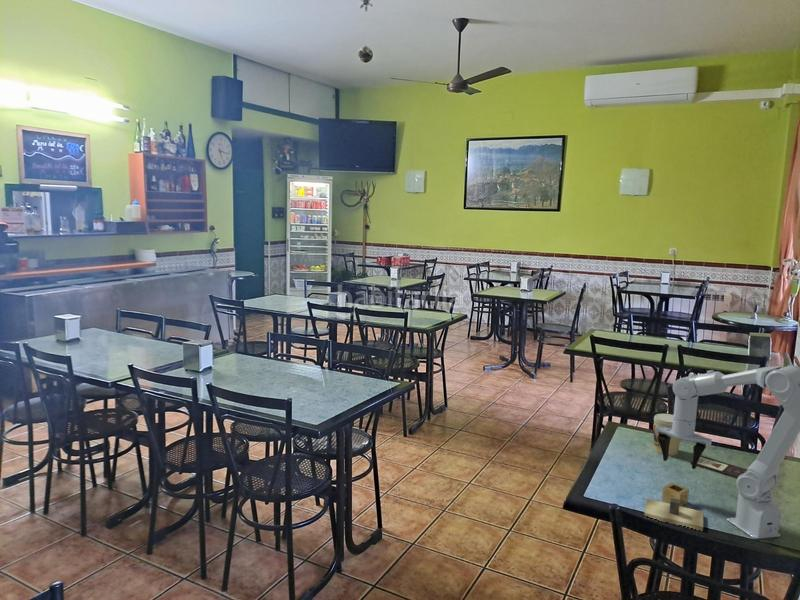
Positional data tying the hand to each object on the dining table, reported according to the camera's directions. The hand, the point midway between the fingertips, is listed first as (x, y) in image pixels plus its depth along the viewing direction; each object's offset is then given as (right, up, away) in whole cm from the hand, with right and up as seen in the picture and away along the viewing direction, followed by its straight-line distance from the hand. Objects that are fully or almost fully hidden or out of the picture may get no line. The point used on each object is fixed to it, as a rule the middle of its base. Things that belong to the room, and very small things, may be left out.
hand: (679, 463), depth 166 cm
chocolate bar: (+25, -8, +21) cm, 33 cm away
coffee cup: (+12, -5, +34) cm, 36 cm away
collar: (-2, -10, -2) cm, 11 cm away
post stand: (-7, -11, -10) cm, 17 cm away
